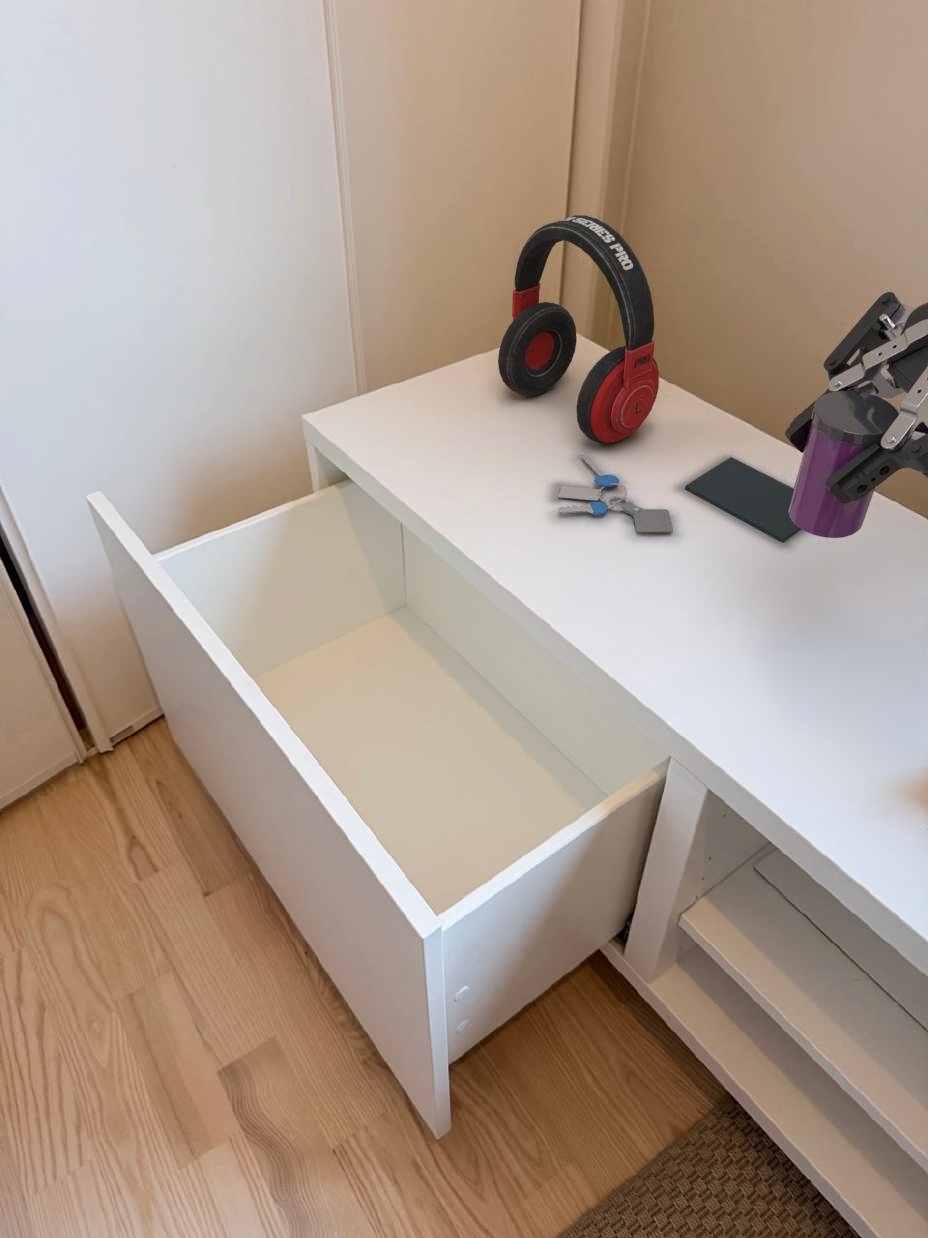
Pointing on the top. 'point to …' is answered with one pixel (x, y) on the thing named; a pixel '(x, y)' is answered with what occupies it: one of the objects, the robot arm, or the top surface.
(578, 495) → the key chain
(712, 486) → the mat
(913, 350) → the robot arm
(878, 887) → the top surface
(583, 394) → the headphones
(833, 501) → the tin
